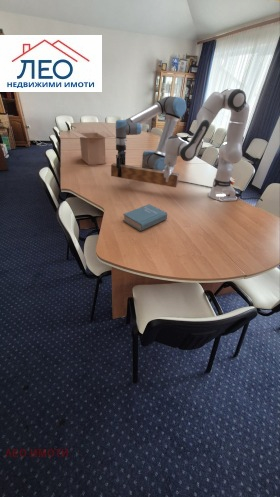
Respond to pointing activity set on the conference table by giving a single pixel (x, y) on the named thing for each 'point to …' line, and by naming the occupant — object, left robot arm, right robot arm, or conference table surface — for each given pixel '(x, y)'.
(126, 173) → the post
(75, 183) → the conference table surface
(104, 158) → the box
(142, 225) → the book
